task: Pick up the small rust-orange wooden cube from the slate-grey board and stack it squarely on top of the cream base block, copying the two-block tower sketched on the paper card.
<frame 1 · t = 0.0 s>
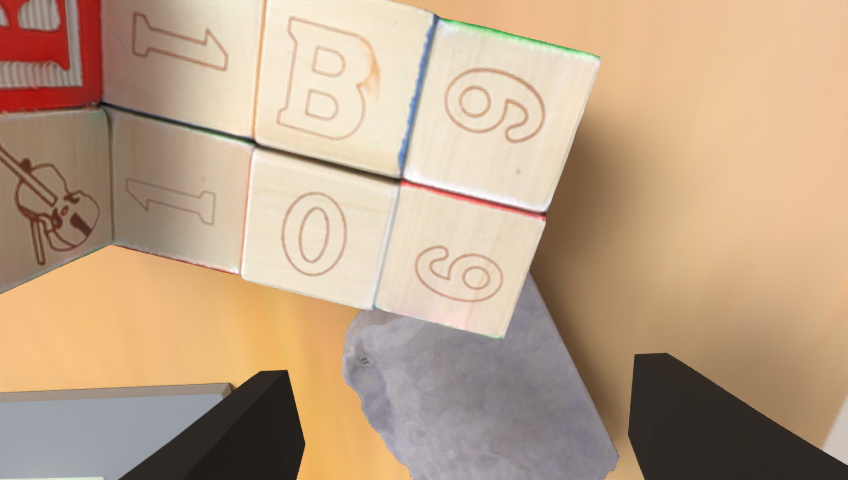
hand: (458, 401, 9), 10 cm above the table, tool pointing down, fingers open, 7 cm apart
stack of blocks: (243, 84, 17), on the table
stone block: (466, 365, 21), on the table
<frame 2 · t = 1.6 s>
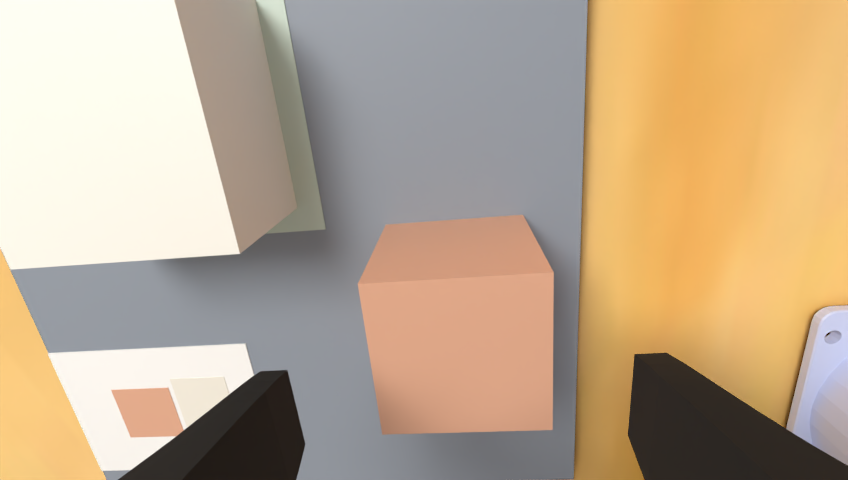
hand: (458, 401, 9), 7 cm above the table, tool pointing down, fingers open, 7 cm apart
cream base block: (183, 121, 13), point 1 cm above the table, touching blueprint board
orange cube: (458, 281, 14), point 1 cm above the table, touching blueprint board
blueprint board: (277, 203, 15), on the table
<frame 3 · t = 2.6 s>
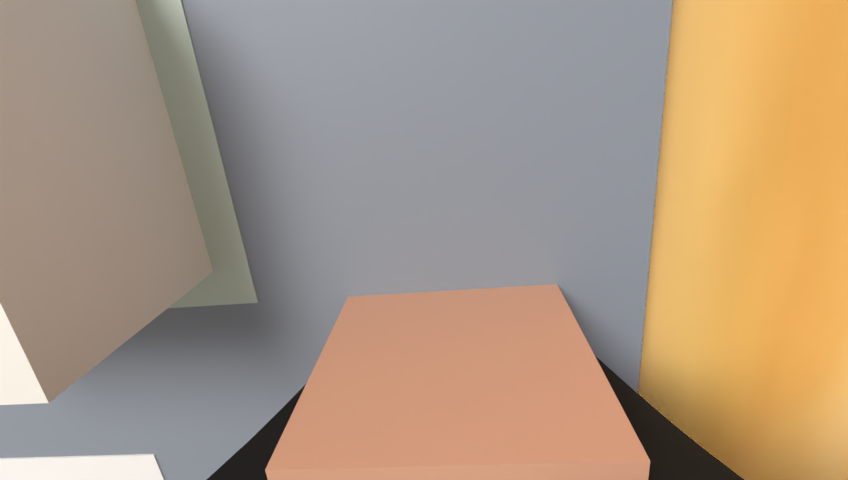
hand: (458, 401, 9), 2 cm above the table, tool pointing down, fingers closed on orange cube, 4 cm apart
cream base block: (27, 141, 8), point 1 cm above the table, touching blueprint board
orange cube: (457, 377, 10), point 1 cm above the table, touching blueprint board, gripper
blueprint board: (191, 259, 10), on the table
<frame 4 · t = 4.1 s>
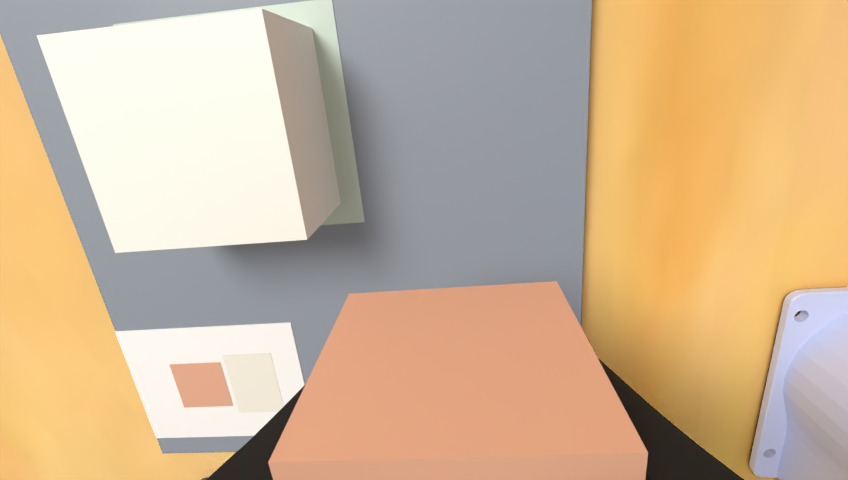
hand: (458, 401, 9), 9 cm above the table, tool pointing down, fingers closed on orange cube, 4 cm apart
cream base block: (246, 129, 15), point 1 cm above the table, touching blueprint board
orange cube: (457, 373, 10), point 8 cm above the table, touching gripper
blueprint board: (321, 199, 17), on the table
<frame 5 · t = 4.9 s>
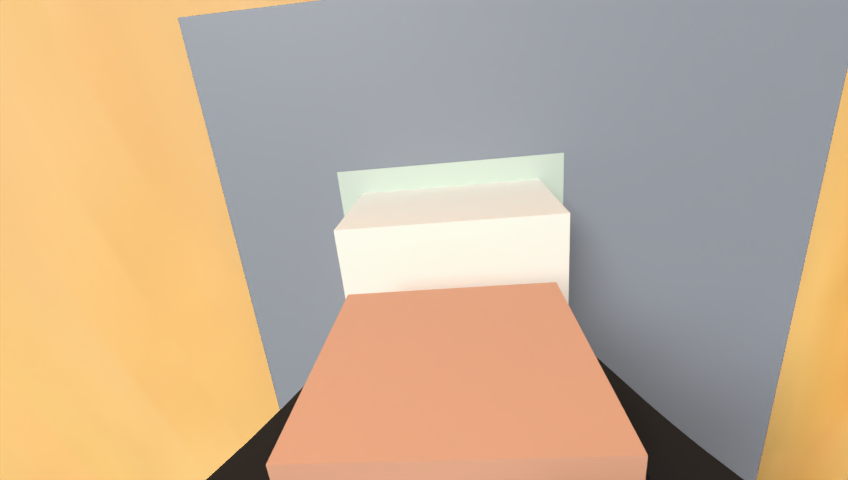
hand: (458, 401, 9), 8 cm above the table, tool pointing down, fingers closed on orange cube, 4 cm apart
cream base block: (455, 266, 16), point 1 cm above the table, touching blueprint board
orange cube: (457, 374, 10), point 7 cm above the table, touching gripper
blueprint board: (510, 323, 17), on the table
when the fingers open (7 cm above the table, at t = 5.6 s): orange cube stays where it is, resting on cream base block.
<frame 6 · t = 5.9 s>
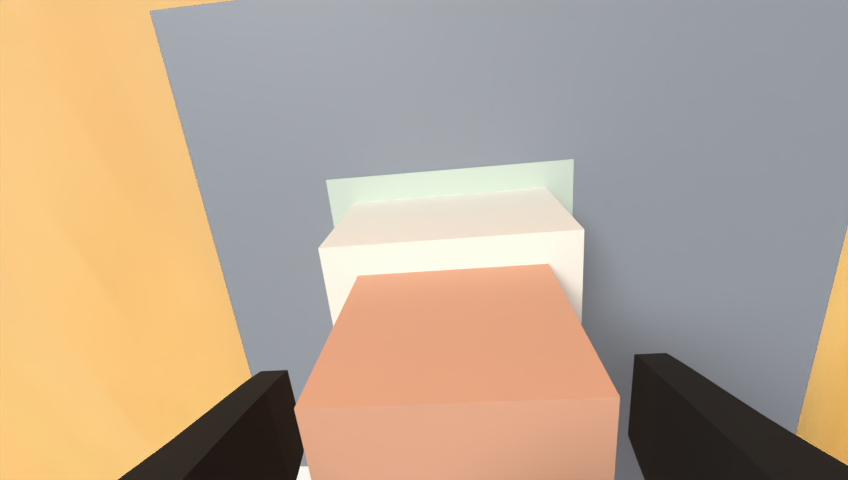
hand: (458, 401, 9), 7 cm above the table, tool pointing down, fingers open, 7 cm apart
cream base block: (455, 282, 14), point 1 cm above the table, touching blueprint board, orange cube
orange cube: (457, 350, 11), point 5 cm above the table, touching cream base block
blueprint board: (514, 341, 16), on the table
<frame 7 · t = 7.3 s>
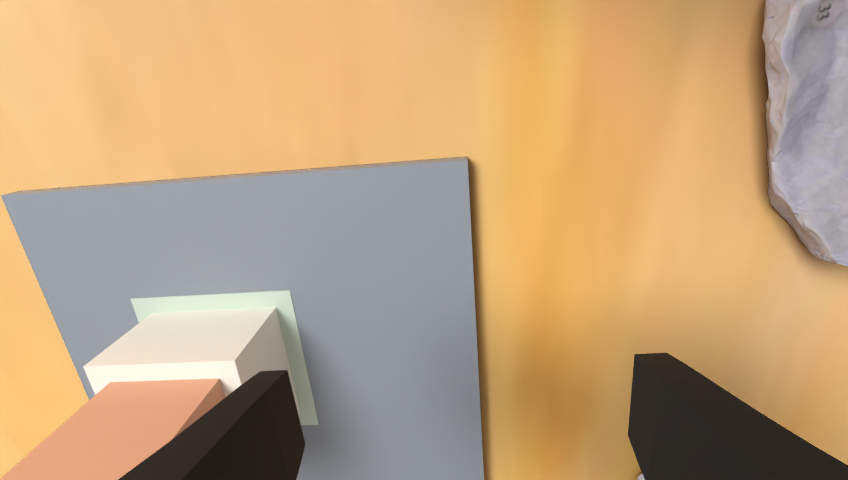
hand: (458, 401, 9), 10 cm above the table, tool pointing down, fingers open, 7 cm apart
cream base block: (228, 364, 21), point 1 cm above the table, touching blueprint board, orange cube
orange cube: (180, 426, 17), point 5 cm above the table, touching cream base block
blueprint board: (287, 401, 22), on the table
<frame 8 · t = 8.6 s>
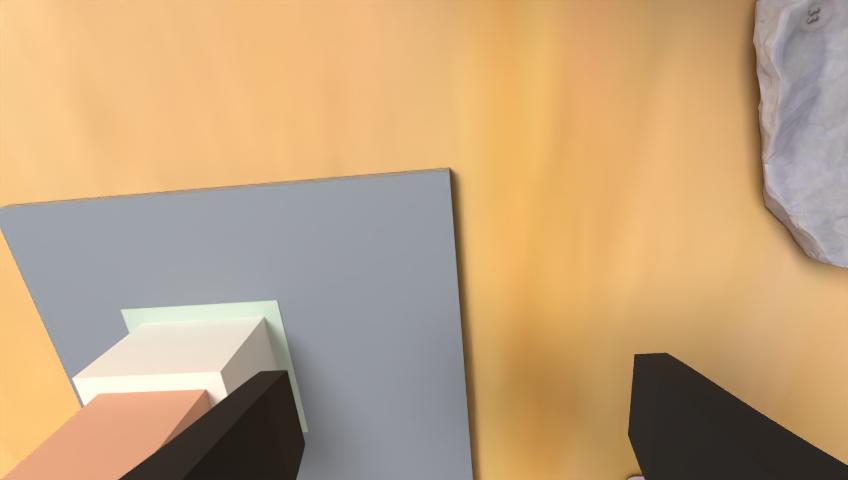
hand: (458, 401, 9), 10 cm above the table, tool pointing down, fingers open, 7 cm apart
cream base block: (218, 373, 21), point 1 cm above the table, touching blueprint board, orange cube
orange cube: (168, 435, 17), point 5 cm above the table, touching cream base block
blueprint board: (277, 409, 23), on the table
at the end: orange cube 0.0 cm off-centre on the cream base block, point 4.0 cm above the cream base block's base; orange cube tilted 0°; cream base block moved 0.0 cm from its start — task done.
